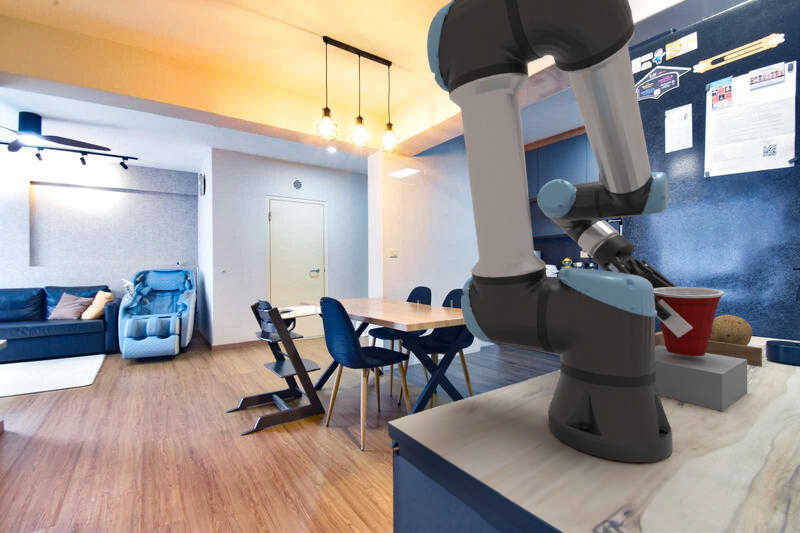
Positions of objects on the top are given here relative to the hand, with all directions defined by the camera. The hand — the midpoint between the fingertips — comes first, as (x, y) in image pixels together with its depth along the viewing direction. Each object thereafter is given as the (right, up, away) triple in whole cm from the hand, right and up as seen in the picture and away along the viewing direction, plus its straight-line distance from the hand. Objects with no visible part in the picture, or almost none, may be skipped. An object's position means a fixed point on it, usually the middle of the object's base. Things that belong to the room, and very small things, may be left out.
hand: (695, 329), depth 66 cm
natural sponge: (+29, -11, +26) cm, 40 cm away
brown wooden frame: (+14, -11, +15) cm, 24 cm away
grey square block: (-1, -12, +1) cm, 12 cm away
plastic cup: (-1, -5, +1) cm, 5 cm away
